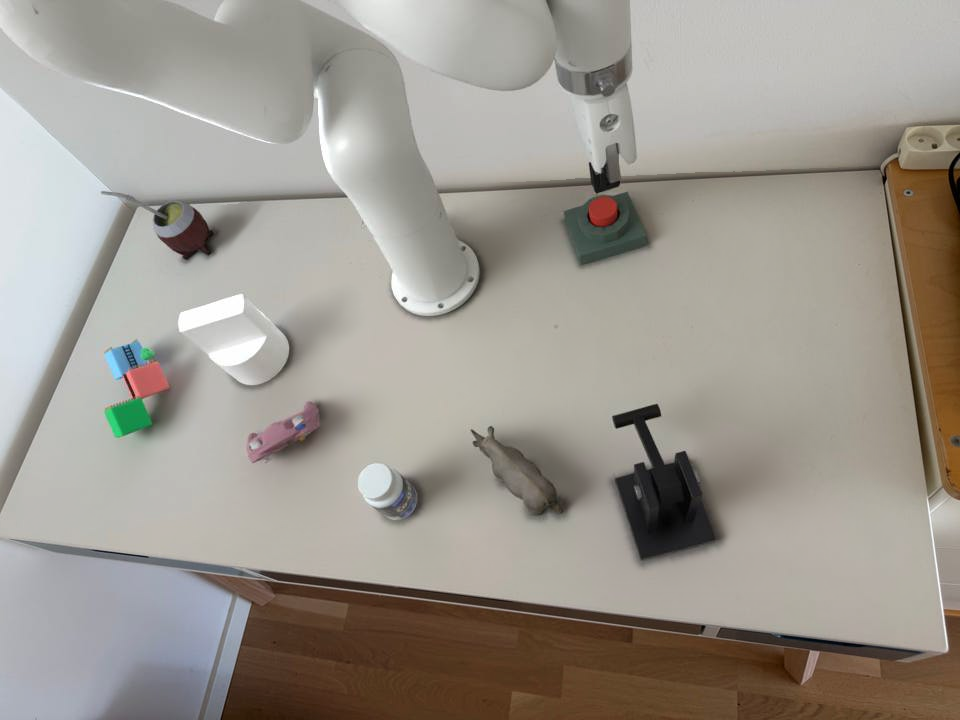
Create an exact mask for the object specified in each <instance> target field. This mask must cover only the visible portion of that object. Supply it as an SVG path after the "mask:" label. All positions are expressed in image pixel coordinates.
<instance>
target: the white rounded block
mask: <svg viewBox="0 0 960 720" xmlns="http://www.w3.org/2000/svg"><path fill="white" fill-rule="evenodd" d="M177 324H178V331H179V333H180V334H182V335H183V336H184V337H185V338H187V340H189V341H190V342H192V343H193V344H194V345H195V346H197V347H198V348H199V349H200V350H202V351H203V352H205V354H207V356H208V357H209V359H210V360H211V362H214V364H216V365H218V367H219V368H221V369H222V370H224V371H225V372H226V373H227V374H229V375H230V376H231V377H232V378H234V379H235V380H236V381H237V382H238V383H241V384H243V385H246V386H256V385H262V384H264V383H266V382H269V381H270V380H272V379H273V378H275V377H276V376H277V375H278V374H279V373H280V372H281V371H282V370H283V368H284V366H285V365H286V363H287V361H288V358H289V355H290V345H289V340H288V339H287V337H286V336H285V334H284V333H283V332H282V331H281V330H280V329H279V328H278V327H277V326H276V324H274V323H273V322H272V321H271V320H270V319H269V318H268V317H267V316H266V315H265V313H263V312H262V311H260V310H259V309H258V308H257V307H256V306H255V304H253V303H252V302H251V301H250V300H249V299H248V298H247V296H245V294H243V293H239V294H236V295H232V296H229V297H226V298H223V299H219V300H217V301H213V302H210V303H207V304H204V305H201V306H197V307H193V308H191V309H188V310H184V311H182V312H180V313H179V316H178V322H177Z"/></svg>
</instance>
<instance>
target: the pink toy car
mask: <svg viewBox="0 0 960 720" xmlns="http://www.w3.org/2000/svg"><path fill="white" fill-rule="evenodd" d="M319 422H320V411H319V408H318V406H317V405H316V404H315V403H314V402H313V401H311V400H308V401H306V402H305V403H304V407H303V410H302V411H300V412H298V413H296V414H294V415H291V416H289V417H288V418H286V419H283V420H279V421H275V422H273V423H271V424H270V425H269V426H268V427H266V428H265V429H264V430H263V432H261V433H259V434H258V433H255V432H252V433H250V434H248V437H247V442H246V448H245V449H246V452H247V457H248V458H249V460H250V462H251V463H252V464H255V463H257V462H262V464H268V463H270V462H271V461H272V459H273V457H271V456H272V455H273V454H275V453H277V452H279V451H281V450H283V449H285V448H286V447H288V446H289V444H288V442H287V441H289V440H291V439H292V441H293V442H297V441H300V442H302V441H305V440H306V438H307V437H306V436H308V435H309V434H311V433H313V431H314V430H316V429H318V428H320V424H319Z"/></svg>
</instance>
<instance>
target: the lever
mask: <svg viewBox="0 0 960 720" xmlns="http://www.w3.org/2000/svg"><path fill="white" fill-rule="evenodd" d="M661 417H662V411H661V408H660V406H659V404H658V403H654V404H651V405H647V406H643V407H639V408H636V409H633V410H629V411H626V412H621V413H619V414H614V415H612V416H611V419H612V423H613V426H614V428H615V429H616V430H617V429H621V428H624V427H628V426H632V425H633V426H634V429H635V431H636V433H637V435H638V437H639V440H640V442H641V445H642V447H643V450H644V452H645V454H646V457H647V459H648V461H649V463H650V466H651V468H649V469H650V474H651V480H652V485H653V487H654V490H655V492H656V494H657V497H658V499H659V502H660V504H661V506H665V505H669V504H673V503H677V502H681V501H684V496H683V489H682V483H681V481H680V479H679V477H678V475H677V473H676V471H675V469H674V466H673V464H672V463H673V462H670V463H666V464H665V461H664V460H663V458H662V455H661V453H660V450H659V449H658V447H657V444H656V442H655V440H654V438H653V435H652V433H651V431H650V429H649V427H648V425H647V422H646V421H650V420H653V419H658V418H661Z"/></svg>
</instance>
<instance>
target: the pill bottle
mask: <svg viewBox="0 0 960 720" xmlns="http://www.w3.org/2000/svg"><path fill="white" fill-rule="evenodd" d="M357 488H358V490H359V492H360V494H361V495H362V496H363V499H364V500H365V502H366V503H367V504H368V505H369V506H371V507H372V508H373V509H375V510H376V511H377V512H379V513H380V514H382V515H383V516H384V517H386V518H388V519H390V520H393V521H400V520H404V519H406V518H407V517H409V516H410V515H411V514H413V512H414V510H415V509H416V507H417V503H418V493H417V490H416V488H415V487H414V486H413V484H412V483H410V481H408V480H407V478H405V477H404V476H403V475H402V474H401V473H400V472H399V471H398V470H397V469H395V468H394V467H391V466H387V465H386V464H384V463H381V462H376V463H371V464H369V465H367V466H365V468H363V470H362V471H360V473H359V476H358V478H357Z"/></svg>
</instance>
